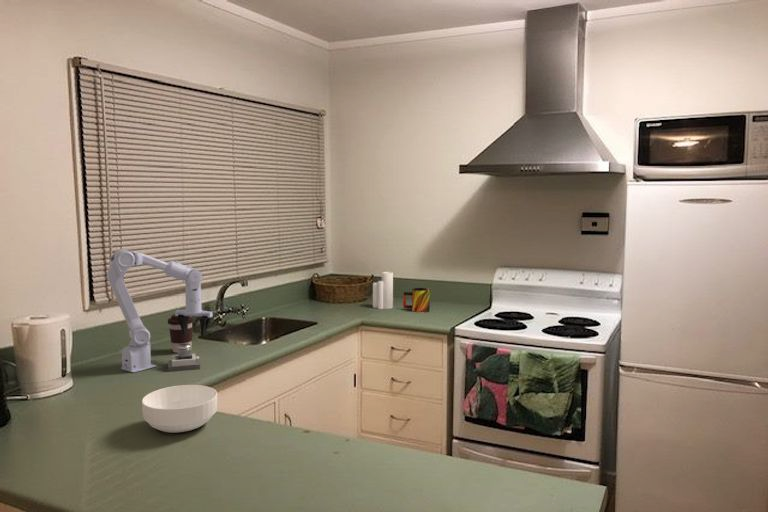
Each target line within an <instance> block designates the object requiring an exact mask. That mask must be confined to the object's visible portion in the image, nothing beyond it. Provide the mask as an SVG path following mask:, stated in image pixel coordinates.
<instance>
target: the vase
mask: <svg viewBox="0 0 768 512" xmlns="http://www.w3.org/2000/svg"><path fill="white" fill-rule="evenodd" d="M372 308H374V309H378V310H383V309H385V310H388V309H393V308H394V272H393V271H381V280H378V281H377V282H373V283H372Z"/></svg>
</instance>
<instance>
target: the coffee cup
mask: <svg viewBox="0 0 768 512" xmlns="http://www.w3.org/2000/svg"><path fill="white" fill-rule="evenodd" d="M177 317H178V316H175V313H174V314H172V315H171V316H170V317H169V318H168V319H167V325H169V336H170V342H171V346H172V347H171V348H172V349H171V350H172V352H173V353H174V354H178V345H179V344H190V345H191V348H192V347H193V346H192V344H193V343H192V342H193V330H194V329H193V328H194V327H193V323H194V321H195V320H194V319H195V318H194V316H189V318H188V334H186V335H183V332H182V329H181V326H180V324H179V322H178V321H177V319H176V318H177Z"/></svg>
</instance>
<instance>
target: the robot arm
mask: <svg viewBox="0 0 768 512" xmlns="http://www.w3.org/2000/svg"><path fill="white" fill-rule="evenodd" d="M139 265H140V266H141V265H145V266H148V267H153V268H155V269H159V270H162V271H163V272H164V274H165V275H166V276H168V277H170V278H173V279H175V280H176V279H177V280H178V281H179V280H180V281H184V282H185V288H184V290H185V294H184V295H185V309H177V310H175V311H174V314H175V316H178V317H177V318H176V319H177V321H178V322H179V324H180V326H181V329H182V332H183V335H186V334H188V318H189V316H190V317H199V319H198V321H199V324H200V334H201V337H203V336H206V335H207V330H208V326H209V324H210V322H211V319H212V318H213V317H214V316H213V311H208V310H203V309H202V286H201V284H202V283H201V282H202V281H203V279H204V278H203V277H204V276H203V275H202V273H201V271H200V270H198V269H196V268H193V266H191V265H185V264H182V263H180V261H178V260H176V259H175V260H170V261H168V262H166V261H163V260H162V259H158V258H155V257H153V256H151V255H148V254H145V253H142V252H139V251H135V250H128V249H126V248H119V249H116V250H115V251H114V252H113V254H112V255H111V257H110V259H109V265H108V268H107V269H108V270H107V272H106V273H107V274H106V278H107V280H108V283H109V286H110V288H111V289H112V292H113V294H114V296H115V299H116V301H117V304H118V307H119V308H120V311H121V313H122V315H123V317H124V319H125V322H126V325H127V328H128V337H129V338H130V341H129V342H128V346H125V347H123V348H122V350H121V368H120V369H121V370H122V371H127V372H130V373H137V372H141V371H145V370H148V369H151V368H156V367H157V364H154V363H152V357H151V356H152V355H151V352H152V351H151V341H150V340H151V333H150V331H149V330H148V329H147V327H145V325H144V324H143V321H142V320H141V318H140V316H139V313H138V310H137V308H136V306H135V304H134V301H133V299H132V297H131V294H130V293H129V290H128V288H127V286H126V283H125V280H124V277H125V275H126V273H127V271H128V270H130V269H131V268H132V267H133V266H139Z"/></svg>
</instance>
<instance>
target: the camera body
mask: <svg viewBox="0 0 768 512" xmlns="http://www.w3.org/2000/svg"><path fill="white" fill-rule="evenodd" d="M200 359H201V358H200V356H198V355H197V356H196V353H191V359H182V360H178V354H172V356H171V360H168V363H167V372H168V373H169V372H178V371H191V370H200V369H201V361H200Z"/></svg>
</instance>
